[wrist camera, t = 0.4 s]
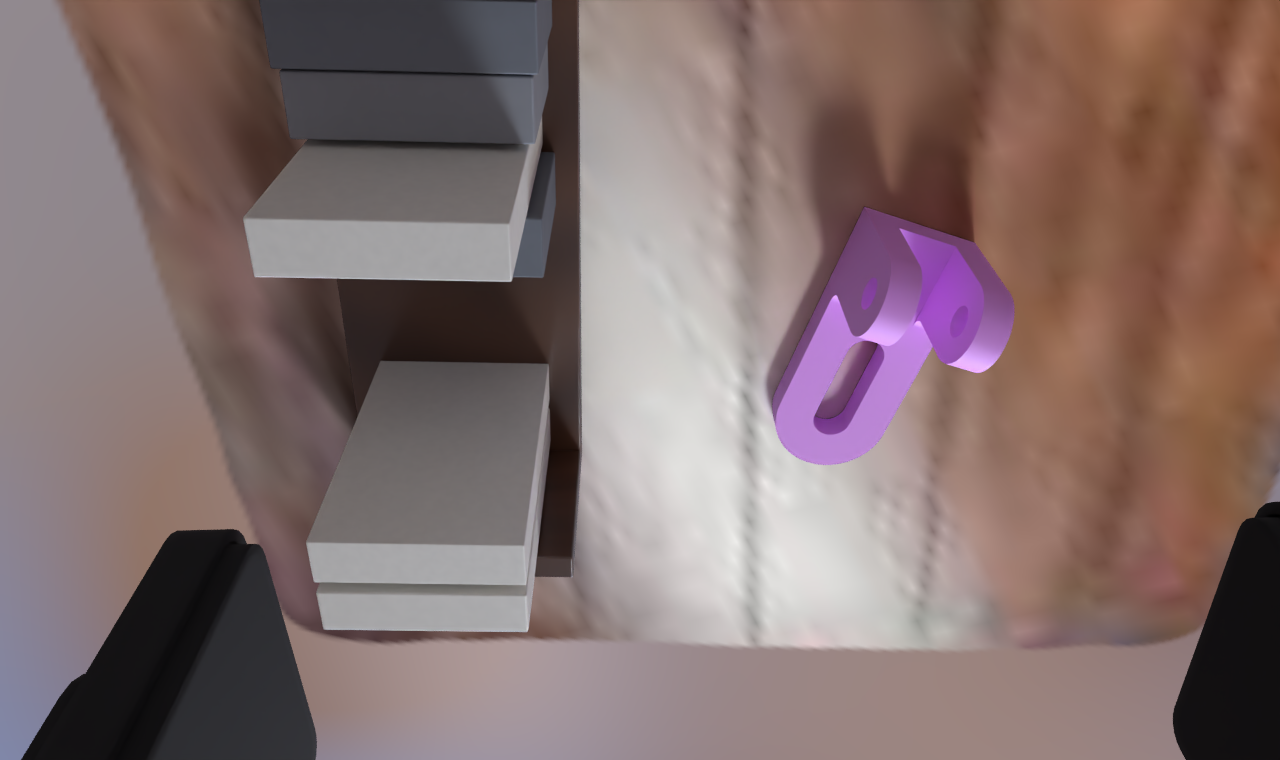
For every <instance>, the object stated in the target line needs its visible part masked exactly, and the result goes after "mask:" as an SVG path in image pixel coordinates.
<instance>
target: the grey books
mask: <svg viewBox="0 0 1280 760" xmlns="http://www.w3.org/2000/svg"><path fill="white" fill-rule="evenodd" d="M259 1H260V7H261V13H262V20H263V26H264V32H265V38H266V44H267V50H268V56H269V62H270V67H271V68H273V69H281V70H280V72H279V73H280V79H281V85H282V92H283V98H284V104H285V110H286V116H287V122H288V129H289V135H290V138H291V139H314V140H360V141H405V142H451V143H497V144H535V142H536V138H537V134H538V130H539V126H540V121H541V117H542V113H543V109H544V105H545V101H546V97H547V93H548V89H549V85H548V38H549V35H550V31H551V28H552V0H259ZM555 206H556V187H555V153H554V152H541V153H540V158H539V162H538V167H537V171H536V176H535V180H534V184H533V189H532V193H531V198H530V202H529V207H528V211H527V216H526V220H525V224H524V229H523V233H522V238H521V242H520V247H519V251H518V256H517V260H516V265H515V269H514V273H513V277H539V278H542V277H544V272H545V266H546V260H547V254H548V248H549V242H550V236H551V230H552V224H553V218H554V212H555Z"/></svg>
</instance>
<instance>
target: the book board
mask: <svg viewBox="0 0 1280 760" xmlns="http://www.w3.org/2000/svg"><path fill="white" fill-rule="evenodd" d="M548 85H549V89H548V93H547V97H546V101H545V105H544V109H543V113H542V135H543V144H542V149H541V152H554V153H555V187H556V206H555V212H554V218H553V224H552V230H551V236H550V242H549V248H548V254H547V260H546V266H545V272H544V277H542V278H539V277H513V278H512V281H511V282H496V281H444V280H392V279H340V278H337V282H338V289H339V295H340V302H341V309H342V316H343V323H344V329H345V336H346V343H347V350H348V356H349V363H350V370H351V377H352V383H353V390H354V397H355V404H356V410H357V417H358V414H359V412H360V410H361V407H362V405H363V402H364V400H365V397H366V395H367V393H368V390H369V388H370V385H371V383H372V380H373V378H374V375H375V373H376V371H377V368H378V366H379V363H380V361H416V362H473V363H530V364H548V365H549V397H550V398H549V406H548V408H549V409H550V437H551V441H550V449H549V458H548V466H547V475H546V483H545V492H544V501H543V509H542V518H541V526H540V535H539V543H538V552H537V560H536V569H535V577H573V573H574V559H575V545H576V531H577V516H578V502H579V488H580V474H581V460H582V404H581V254H580V104H579V0H552V28H551V31H550V35H549V38H548Z"/></svg>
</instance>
